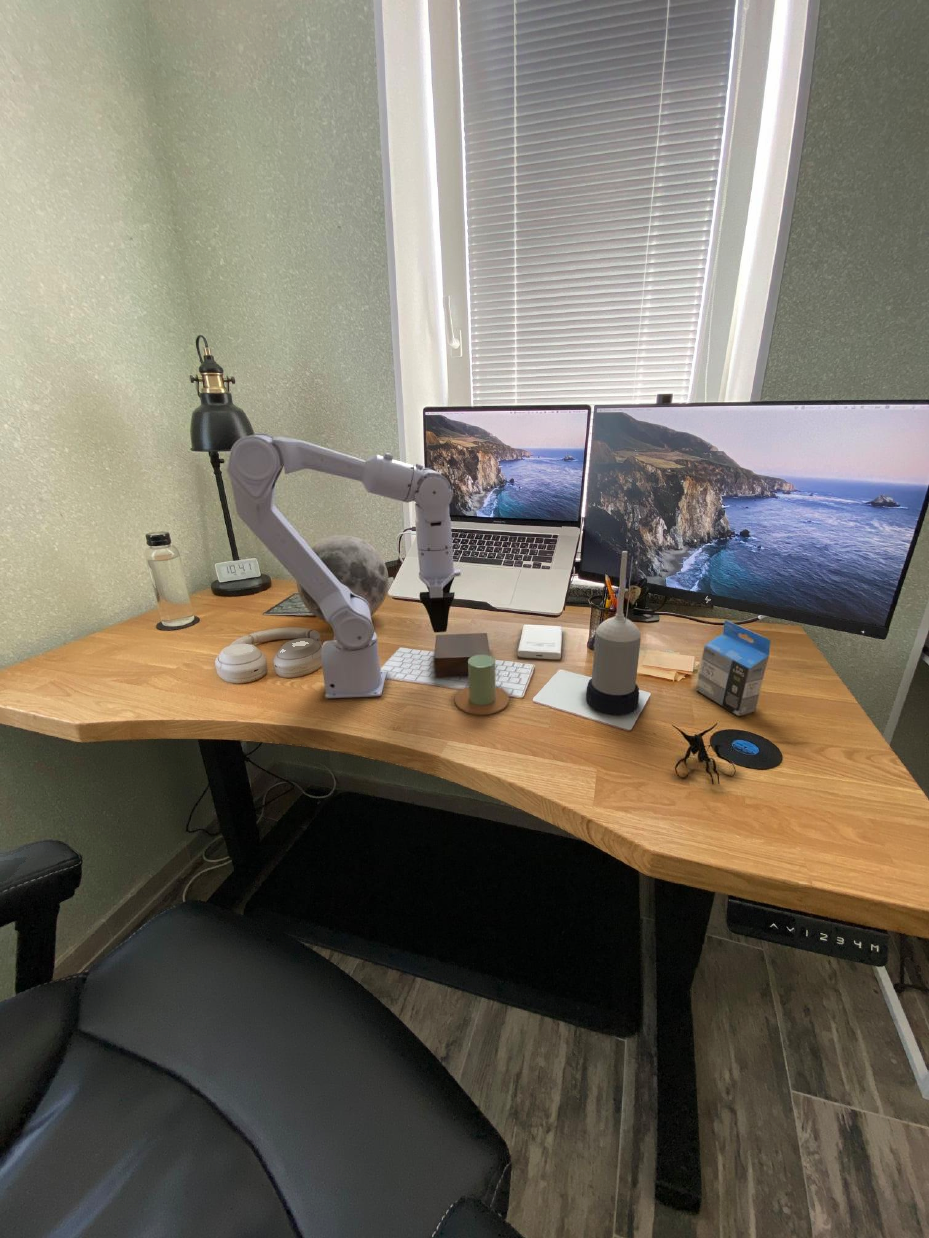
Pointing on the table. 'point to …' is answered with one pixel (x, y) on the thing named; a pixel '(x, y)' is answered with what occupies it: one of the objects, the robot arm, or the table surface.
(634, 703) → the humidifier
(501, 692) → the coaster
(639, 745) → the table surface
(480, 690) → the sage green cylinder
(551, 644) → the hard drive
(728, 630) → the label tape box
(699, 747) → the creature
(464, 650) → the stand
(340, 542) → the moon model
